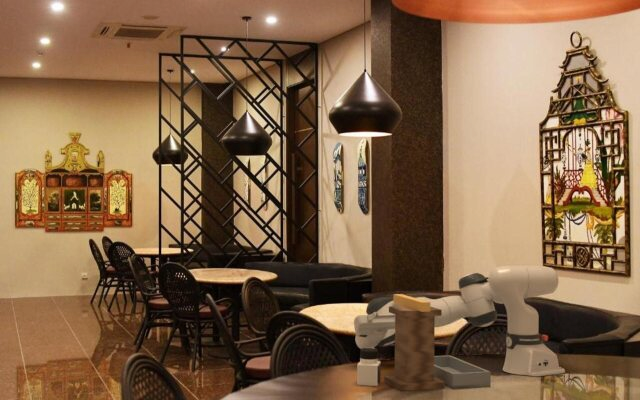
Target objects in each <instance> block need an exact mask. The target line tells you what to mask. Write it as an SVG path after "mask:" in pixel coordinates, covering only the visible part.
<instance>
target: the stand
mask: <svg viewBox="0 0 640 400" xmlns="http://www.w3.org/2000/svg"><path fill="white" fill-rule="evenodd" d="M441 312H442V310H441V309H437V308H434V307H430V311H429V312H421V311H418V310H415V309H412V308H409V307H405V306H389V313H392V314H395V343H394V375H384V377H383V378H384V379H383V382H384V383H385V382H386V383H385V384H387V385H389V386H391V387H392V386H393V387H392V388H394V387H395V388H394V389H396V388H397V389H396V390H398V391H399V390H400V391H399V392H407V391H408V392H409V391H422V390H423V391H424V390H438V389H440V390H441V389H446V388H445V387H446V386H445V382H443V381H441V380H439V379H437V378H435V377H434V356H435V328H436V327H435V316H441Z"/></svg>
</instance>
